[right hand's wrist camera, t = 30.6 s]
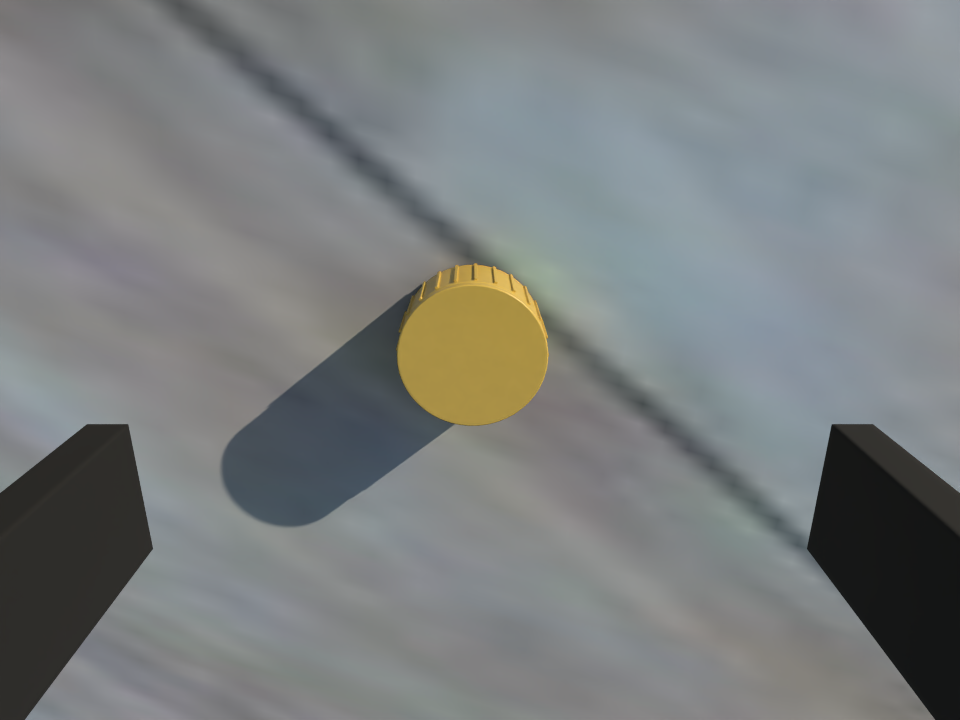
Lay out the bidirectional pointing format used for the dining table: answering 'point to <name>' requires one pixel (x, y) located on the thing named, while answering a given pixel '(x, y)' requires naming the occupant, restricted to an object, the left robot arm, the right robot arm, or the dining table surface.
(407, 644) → the dining table surface
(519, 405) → the cap
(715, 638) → the dining table surface
